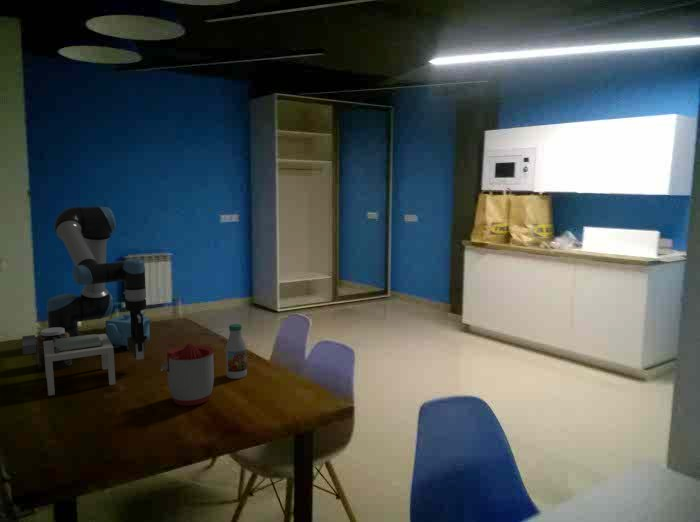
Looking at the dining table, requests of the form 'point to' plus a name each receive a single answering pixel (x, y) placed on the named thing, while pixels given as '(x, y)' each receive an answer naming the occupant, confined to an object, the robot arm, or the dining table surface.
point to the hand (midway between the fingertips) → (138, 356)
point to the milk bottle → (236, 353)
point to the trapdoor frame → (104, 351)
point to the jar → (48, 336)
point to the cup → (133, 346)
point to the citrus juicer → (190, 374)
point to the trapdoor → (62, 343)
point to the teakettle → (123, 329)
